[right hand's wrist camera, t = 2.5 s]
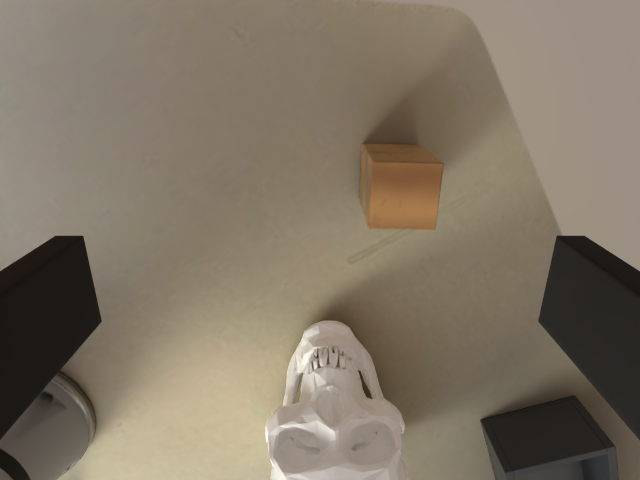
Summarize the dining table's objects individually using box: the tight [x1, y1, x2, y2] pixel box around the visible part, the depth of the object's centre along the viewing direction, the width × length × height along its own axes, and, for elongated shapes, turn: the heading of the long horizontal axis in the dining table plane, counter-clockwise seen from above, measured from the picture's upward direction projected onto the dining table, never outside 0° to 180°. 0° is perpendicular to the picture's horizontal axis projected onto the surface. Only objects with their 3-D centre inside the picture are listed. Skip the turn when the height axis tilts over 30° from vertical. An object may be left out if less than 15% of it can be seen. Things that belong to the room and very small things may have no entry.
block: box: [359, 143, 444, 230], centre depth 35 cm, size 5×5×8 cm
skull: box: [265, 321, 409, 480], centre depth 40 cm, size 13×22×16 cm, turn 9°
